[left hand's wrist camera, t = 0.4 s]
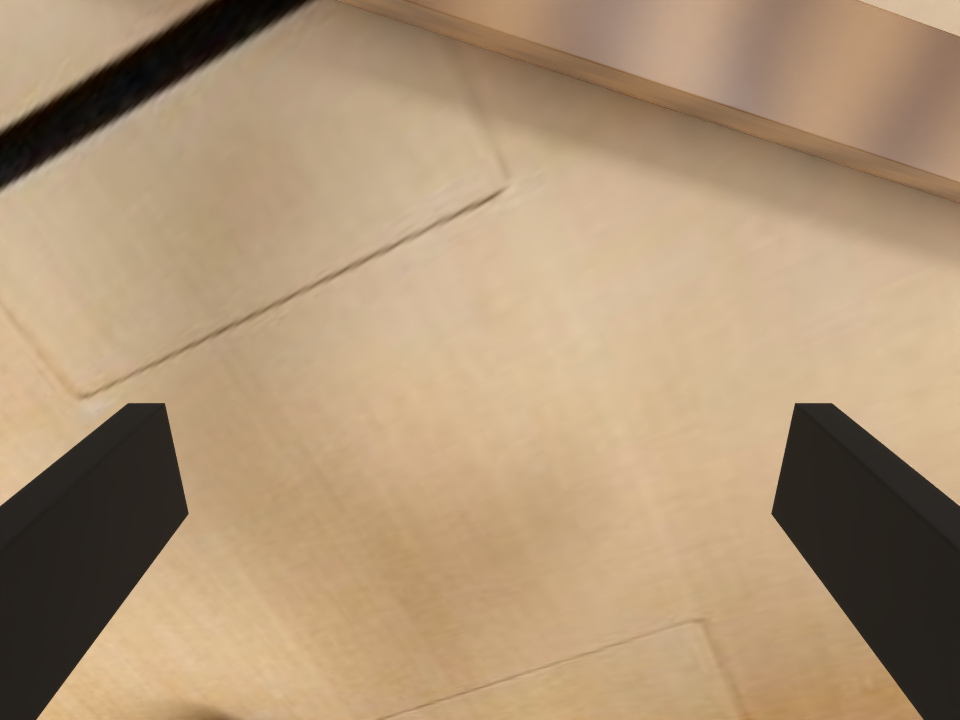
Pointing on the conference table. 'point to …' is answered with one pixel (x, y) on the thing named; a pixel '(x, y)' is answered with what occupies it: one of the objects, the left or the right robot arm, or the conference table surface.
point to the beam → (746, 69)
